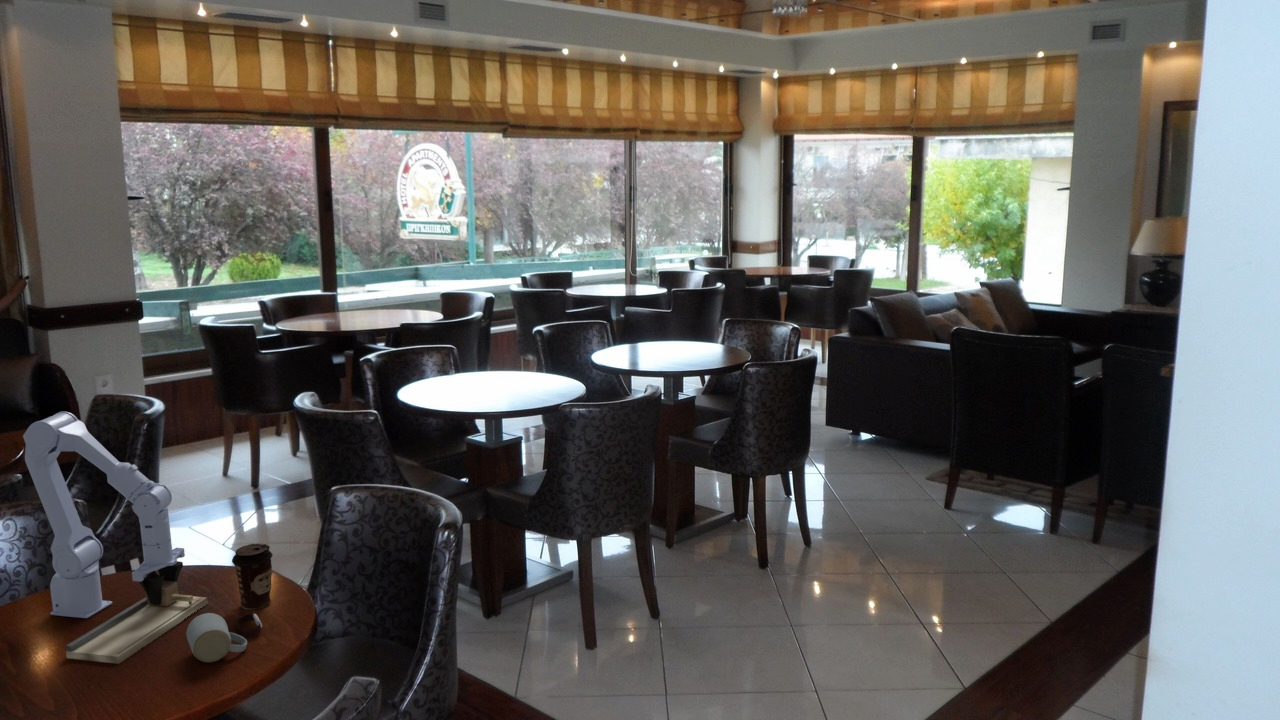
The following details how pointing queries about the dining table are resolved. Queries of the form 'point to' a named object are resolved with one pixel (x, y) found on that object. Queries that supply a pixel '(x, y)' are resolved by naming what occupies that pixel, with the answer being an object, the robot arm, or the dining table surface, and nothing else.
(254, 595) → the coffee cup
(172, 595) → the marking gauge
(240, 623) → the watch
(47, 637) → the dining table surface
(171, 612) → the cream flat tray
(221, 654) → the ceramic mug
